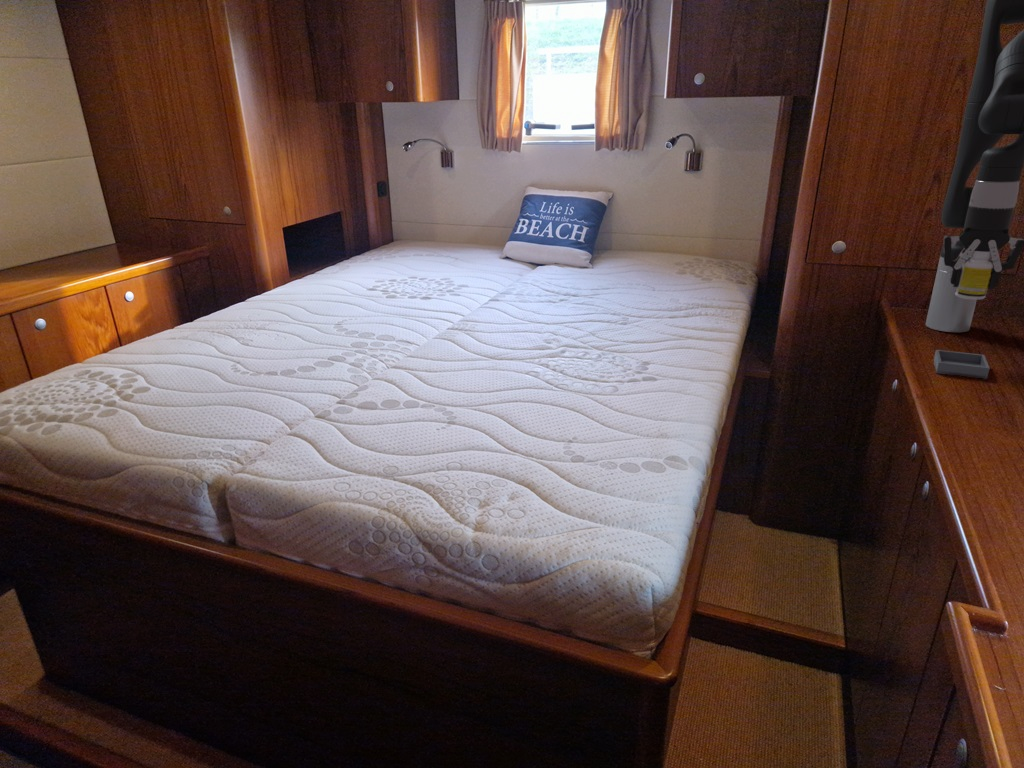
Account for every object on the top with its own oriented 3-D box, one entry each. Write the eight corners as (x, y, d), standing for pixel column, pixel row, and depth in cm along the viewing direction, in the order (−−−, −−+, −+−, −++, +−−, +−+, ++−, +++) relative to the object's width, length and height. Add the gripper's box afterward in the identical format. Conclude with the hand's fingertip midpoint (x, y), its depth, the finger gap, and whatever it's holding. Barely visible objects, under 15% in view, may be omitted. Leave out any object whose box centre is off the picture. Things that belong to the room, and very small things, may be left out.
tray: (933, 360, 142) (935, 349, 141) (981, 365, 138) (984, 354, 137) (936, 373, 135) (938, 362, 134) (986, 379, 131) (989, 368, 130)
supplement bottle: (990, 300, 135) (1002, 252, 131) (960, 300, 136) (972, 252, 132) (978, 293, 140) (990, 247, 136) (950, 293, 141) (960, 247, 137)
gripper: (1033, 202, 131) (1011, 286, 137) (947, 200, 137) (930, 280, 144) (1040, 207, 125) (1017, 295, 131) (950, 205, 131) (932, 289, 137)
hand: (972, 287), depth 137 cm, fingers closed on supplement bottle, 5 cm apart
